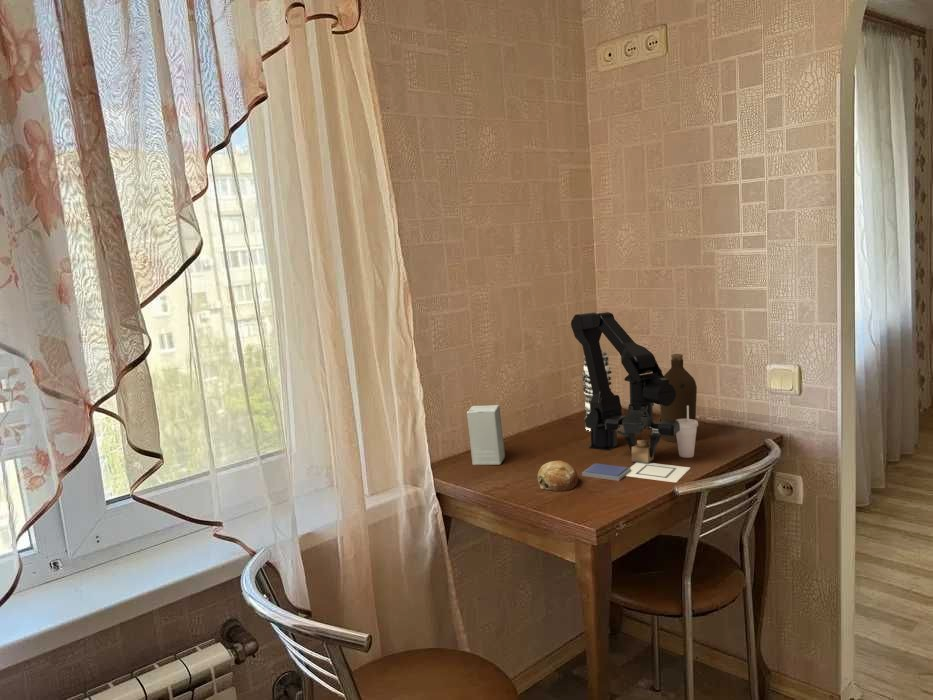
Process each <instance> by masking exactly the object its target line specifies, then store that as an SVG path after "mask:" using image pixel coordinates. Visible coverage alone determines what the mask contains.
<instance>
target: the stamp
mask: <svg viewBox="0 0 933 700" xmlns="http://www.w3.org/2000/svg"><path fill="white" fill-rule="evenodd" d="M649 443H650V440H647V439H636V445H635V446H633V447H632V453H631V462H632V463H636V462H638V463H646V464H648V463H653V462H654V461H655V458H654V457H655V456H654V455H655V454H654V455H653V457H652V458H650V444H649Z"/></svg>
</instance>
